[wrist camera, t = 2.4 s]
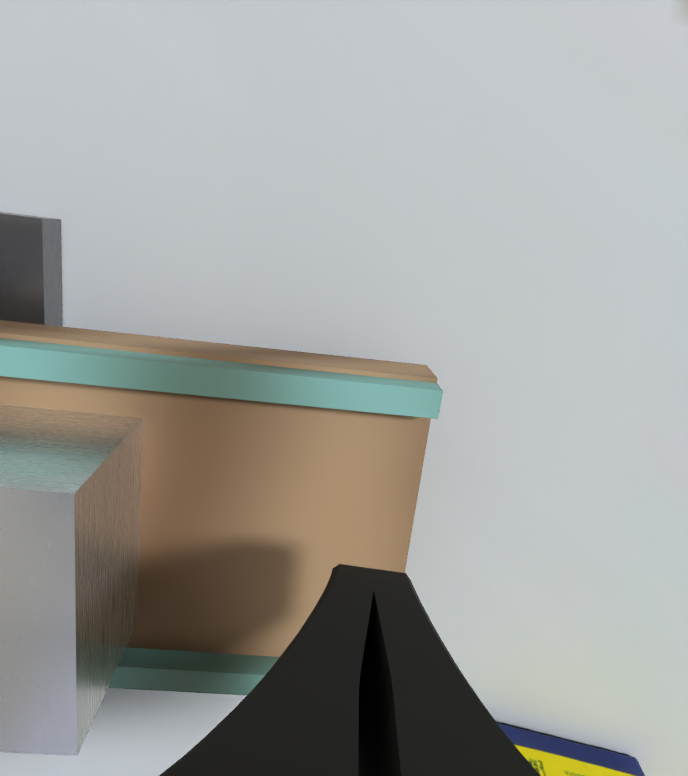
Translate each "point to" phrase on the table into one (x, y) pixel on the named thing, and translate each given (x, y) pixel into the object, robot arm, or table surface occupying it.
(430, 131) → the table surface
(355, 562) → the balance beam
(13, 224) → the beam stand
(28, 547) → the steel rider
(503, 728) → the supplement box
